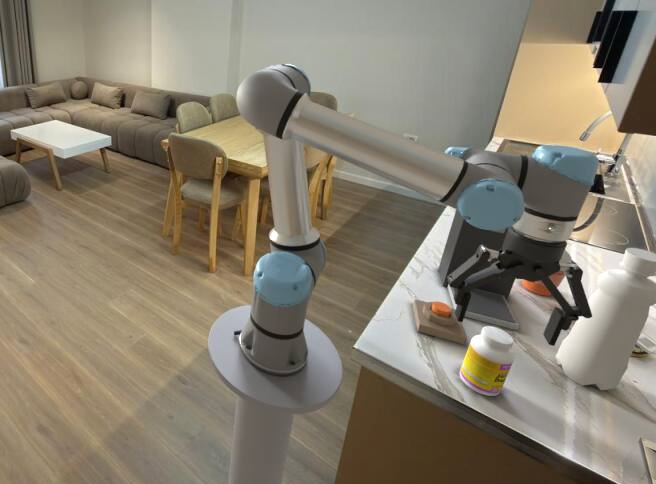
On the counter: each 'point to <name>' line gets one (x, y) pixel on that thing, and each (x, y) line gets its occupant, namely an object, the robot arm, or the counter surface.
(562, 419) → the counter surface
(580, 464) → the counter surface
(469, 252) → the coffee maker
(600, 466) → the counter surface
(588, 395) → the counter surface
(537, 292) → the cup with straw
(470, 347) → the supplement bottle
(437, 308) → the button
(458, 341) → the control block
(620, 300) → the bottle
